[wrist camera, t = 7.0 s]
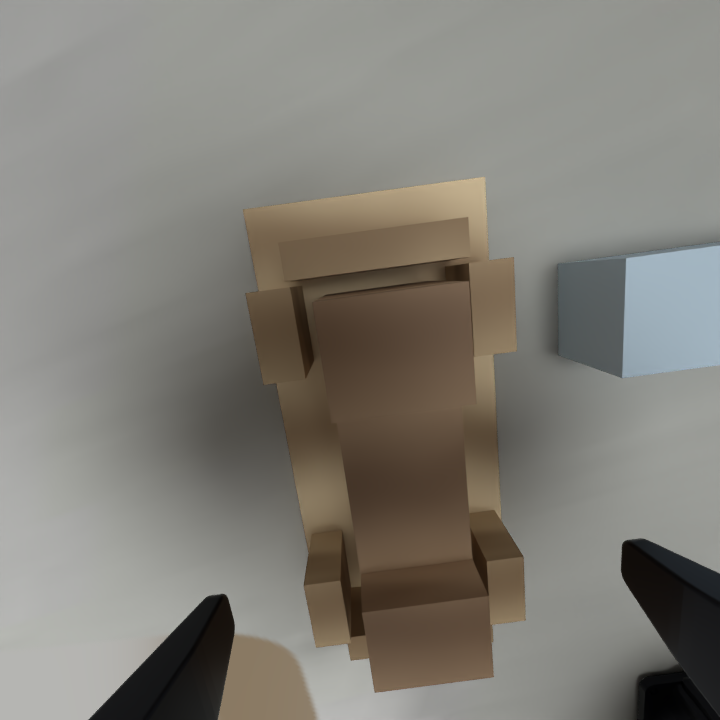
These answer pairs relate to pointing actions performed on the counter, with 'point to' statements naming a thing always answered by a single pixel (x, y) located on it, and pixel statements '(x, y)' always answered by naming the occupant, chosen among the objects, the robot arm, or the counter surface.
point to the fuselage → (408, 475)
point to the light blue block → (642, 311)
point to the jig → (306, 379)
